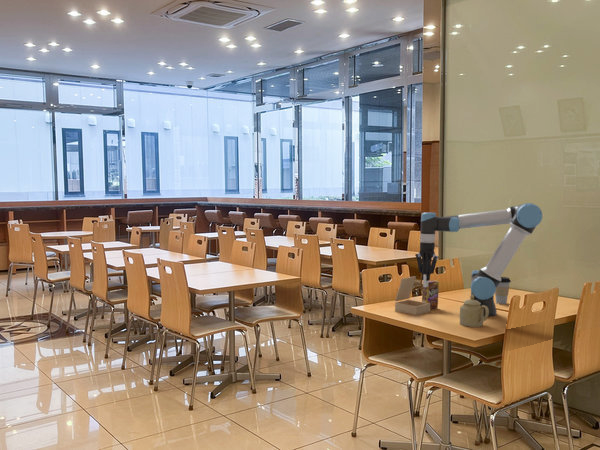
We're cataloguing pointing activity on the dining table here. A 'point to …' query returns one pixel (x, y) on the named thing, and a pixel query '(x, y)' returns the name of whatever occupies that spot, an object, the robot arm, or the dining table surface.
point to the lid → (405, 288)
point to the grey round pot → (472, 313)
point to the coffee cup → (502, 290)
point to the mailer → (412, 307)
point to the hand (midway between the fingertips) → (425, 286)
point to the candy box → (431, 294)
